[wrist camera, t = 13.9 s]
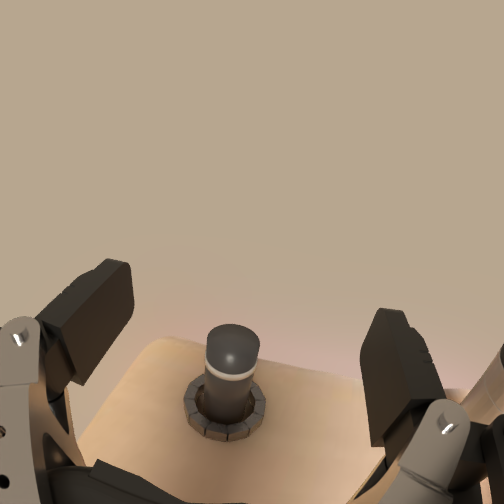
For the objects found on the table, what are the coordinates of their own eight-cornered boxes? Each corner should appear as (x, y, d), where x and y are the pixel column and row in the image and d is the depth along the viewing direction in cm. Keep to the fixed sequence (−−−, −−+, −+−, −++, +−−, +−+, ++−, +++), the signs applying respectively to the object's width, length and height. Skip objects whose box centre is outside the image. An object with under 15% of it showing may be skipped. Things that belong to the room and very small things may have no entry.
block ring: (266, 388, 37) (268, 379, 36) (257, 447, 28) (260, 440, 27) (196, 373, 37) (196, 364, 36) (175, 429, 29) (174, 421, 28)
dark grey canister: (248, 398, 35) (263, 329, 30) (241, 431, 30) (257, 365, 25) (208, 389, 35) (213, 318, 30) (197, 421, 30) (199, 353, 25)
